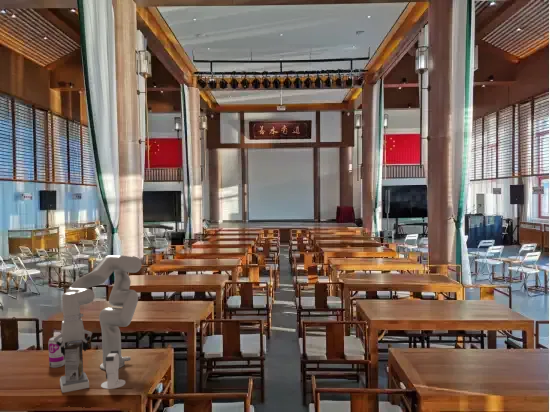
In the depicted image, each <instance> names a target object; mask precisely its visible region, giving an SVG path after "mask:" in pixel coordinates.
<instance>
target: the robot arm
mask: <svg viewBox="0 0 550 412" xmlns="http://www.w3.org/2000/svg"><path fill="white" fill-rule="evenodd" d="M142 265H143V264H142V260H141V259H140V258H139V257H136V256H128V255H121V254H120V255H119V254H115V255H114V254H112V255H111V254H108V255H106V256H104V257H103V258H102V260H101V261H100V262H99V263H98V264H97V265H96V267H94V269H93V270H92V271H91V272H89V273H87V274H85V275H83V276H81V277H79V278H77V279H76V280H75V281H73V283H72V284H70V286H69V287H68V288H67V290H66V292H65V293H63V294H62V296H61V299H62V300H61V301H62V315H63V320H62V321H61V333H59V335H57V336H54V337H55V338H54V341H55V342H56V344H57V345H59V346H60V347H61V353H63V355H65V354H64V344H65V345H66V343H72V342H78V341H79V342H80V341H82V348H83V351H84V352H86V351H87V349H88V342H89V341H90V339H91V337H92V335H93V332H92V331H89V330H87V329H85V327H84V321H83V319H82V318H83V317H84V313H81V309H80V308H81V306H82V305H88V304H90V303H92V302H93V301H94V299H95V292H94V291H93V290H92V289H90V288H93V287H96V286H100V285H103V284H104V283H105V282H106V281H107V280H108V279H109V278H110V276H111V275H112V274H113V272H114V278H115V280H114V282H113V287H112V288H111V292H110V294H109V298H108V303H109V305H111V306H113V307H105V308H103V309H101V310H100V313H99V316H98V317H99V319H98V320H99V324H100V328H101V329H100V330H101V340H102V341H101V343H102V344H101V345H102V347H101V348H102V363H101V364H100V365H99V369H101V370H104V371H106V368H105V364H106V357H107V356H108V354H110V352H111V351H119V355H118V356H119V369H122V368H123V367H124V366H125V365H126V364H125V362H129V361H131V360H132V359H131V356H123V355H122V338H121V337H122V335H121V330H120V328H121V327H123V328H124V327H128V326H129V325H130V324H131V322H132V321H133V318H134V315H135V313H136V308H137V306H138V302H139V295H138V292H137V291H136V290H135V289H130V287H131V282H132V281H131V279H130V276H129V274H128V273H131V274H134V273H138V272H139V271H140V270H141V269H142ZM85 334H87V336H86V337H85ZM61 337H62V340H63V341H62V342H61V343H60V342H59V341H58V339H59V338H61Z"/></svg>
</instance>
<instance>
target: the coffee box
mask: <svg viewBox="0 0 550 412" xmlns="http://www.w3.org/2000/svg"><path fill="white" fill-rule="evenodd" d="M67 343H68V344H67V345H65V348H64V354H65V364H64V374H65V375H64V376H65V379H66V381H78V380H79V379H80V378H81V376H82V375H83V372H84V358H83V341H79V342H78V341H73V342H67Z"/></svg>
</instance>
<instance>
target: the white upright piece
mask: <svg viewBox="0 0 550 412" xmlns="http://www.w3.org/2000/svg"><path fill="white" fill-rule="evenodd" d="M118 355H119V351H111V352H110V354H108V356H107V357H106V364H105V368H106V370H105V372H106V374H105V378H106V380H105V381H103V382H102V383H101V384H100V387H101V388H102V389H105V390H115V389H117V388H121V387H123V386H125V385H126V380H124V379H121V378H120V379H119V369H120V368H119V356H118Z"/></svg>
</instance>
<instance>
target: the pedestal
mask: <svg viewBox="0 0 550 412" xmlns="http://www.w3.org/2000/svg"><path fill="white" fill-rule="evenodd" d="M59 385H60V386H59V387H60V390H61V393H69V392H75V391H78V390H83V389H84V390H85V389H89V388H90V381H89V378H88V376H87V374H86V372H85V371H83V375H82V376H81V378H80V379H79V380H78V381H66V379H65V375H63V376H60V378H59Z"/></svg>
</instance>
